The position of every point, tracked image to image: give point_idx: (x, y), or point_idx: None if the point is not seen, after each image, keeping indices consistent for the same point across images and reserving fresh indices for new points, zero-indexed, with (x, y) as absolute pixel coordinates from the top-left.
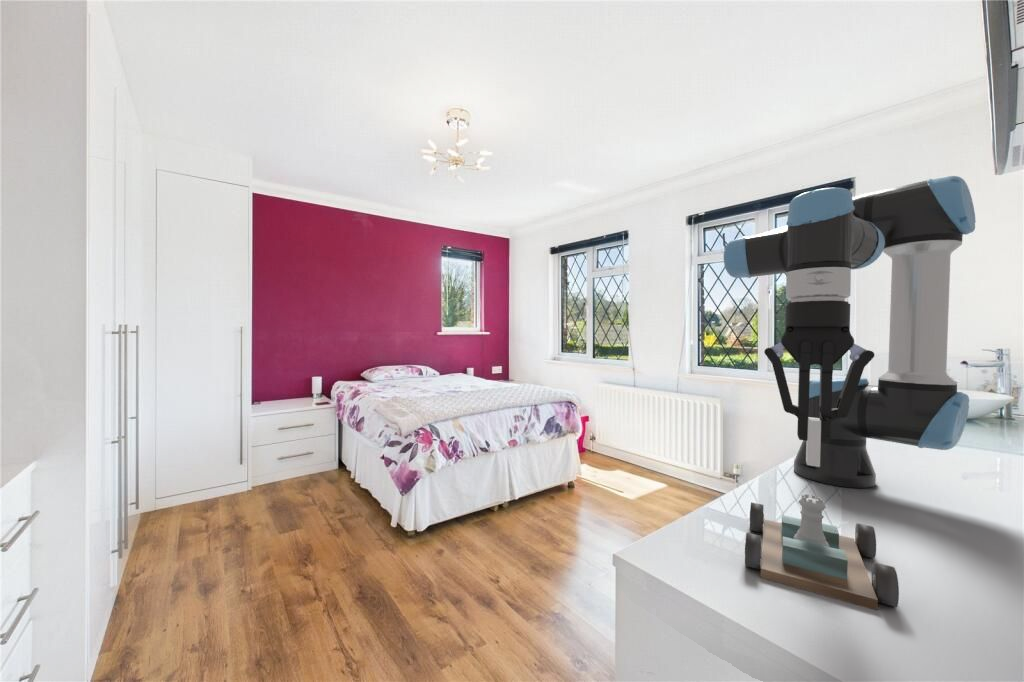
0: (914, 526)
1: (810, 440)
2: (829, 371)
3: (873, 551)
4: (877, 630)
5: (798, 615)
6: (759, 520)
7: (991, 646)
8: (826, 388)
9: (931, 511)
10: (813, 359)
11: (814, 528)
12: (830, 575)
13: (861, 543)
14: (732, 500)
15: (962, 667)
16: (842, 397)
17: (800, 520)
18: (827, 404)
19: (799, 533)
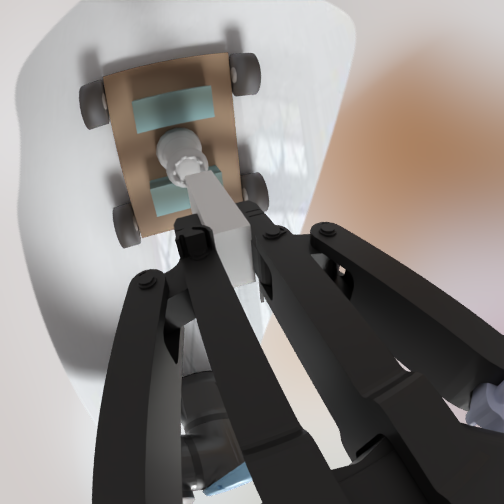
0: (113, 333)
1: (221, 194)
2: (264, 452)
3: (116, 207)
4: (107, 35)
5: (179, 3)
6: (249, 177)
7: (25, 101)
8: (236, 354)
9: None
10: (388, 477)
11: (177, 145)
12: (150, 95)
13: (127, 206)
14: None
15: (49, 38)
16: (154, 337)
17: None
18: (206, 290)
19: (195, 144)
